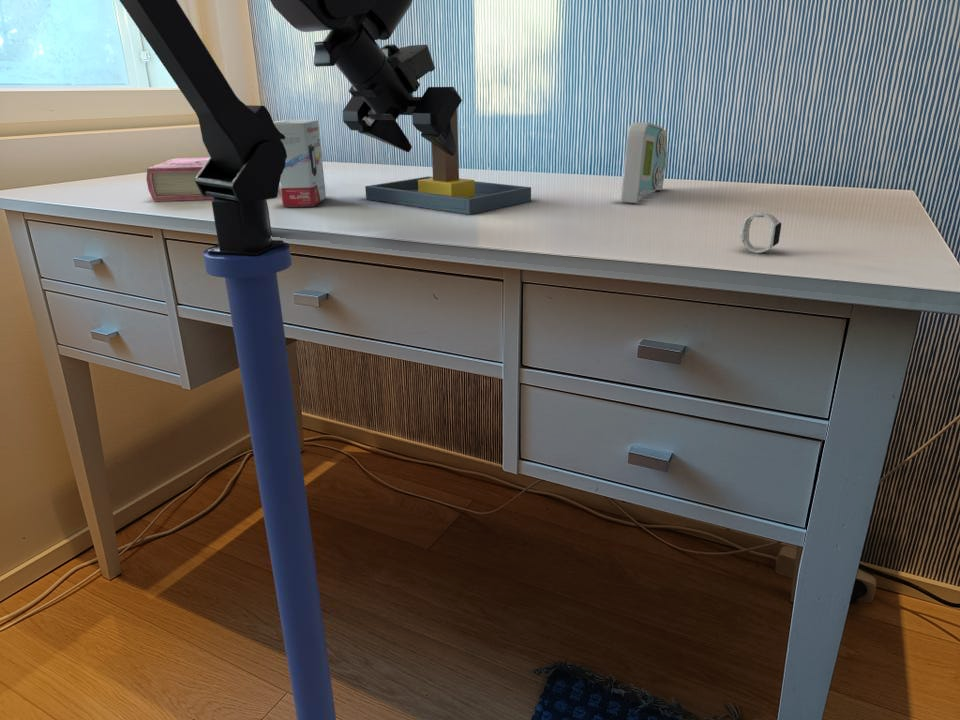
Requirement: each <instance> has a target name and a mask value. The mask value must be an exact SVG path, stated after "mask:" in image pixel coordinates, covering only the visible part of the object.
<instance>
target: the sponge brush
mask: <svg viewBox="0 0 960 720" xmlns="http://www.w3.org/2000/svg"><path fill="white" fill-rule="evenodd" d="M458 124H459V123H458V109H457V110H456V111H455V113H454V115H453V116H452V118H451V125H452V130H453V134H454V139H455V143H456V147H457V152H456V153H455V155H454V156H452V155H450V154H448V153H446V152H445V151H443V150H442V149H440V148H439V147H437V146H436V145H434V144H433V143H431V142H430V143H431V165H432V177H433V178H428V179H422V180H418V191H419V192H423V193H431V194H439V195H447V196H455V197H462V198H471V197H475V185H474V181H475V179H470V178H469V179H468V178H460V167H459V166H460V165H459V163H460V161H459V159H460V158H459V126H458Z"/></svg>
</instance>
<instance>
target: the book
mask: <svg viewBox="0 0 960 720" xmlns="http://www.w3.org/2000/svg"><path fill="white" fill-rule="evenodd" d="M209 158H210V156H209V157H208V156H207V157H176V158H175V157H174V158H172V159H169V160H163V161H164V162H161V163H158V164H155V165H154V164H153V165H151V166H149V167H147V168H146V179H145V180H146V185H147V190H148V192H149V195H150V197H151V199H152V201H153V202H171V201H199V200H213V198H215V197H210V196H202V194H201V192H200V190H199V188H198V186H197V185H196V183H195V178H196V176H197V175H198V174H199V172H200V171H201V169H202V168H203V166H204V165H205V164H206V162H207V161H208V159H209Z"/></svg>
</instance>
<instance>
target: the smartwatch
mask: <svg viewBox="0 0 960 720" xmlns="http://www.w3.org/2000/svg"><path fill="white" fill-rule="evenodd" d="M764 217H765V218H767V219H768V220H769V221H770V222H771V225H770V230H769V233H768V242H767V244H768V247H766V248H764V247H763V248H757V247H755V246H754V245H753V244H752V243H751V241H750V229H751V223H752V221H753V220H754V219H756V218H764ZM781 231H782V222H781V221H779V220H778V218H777V217H776V216H775V215H773V214H772V213H770V212H767V211H759V212H756V213H753V214H750V215H749V216H747V217H746V218H745V219H744V223H743V224H742V225H741V229H740V232H739V233H740V241H741V243H742V245H743V246H744V247H745V248H746V249H747V250H748V251H750V252H751V253H754V254H761V253H765V252H767V251H770V249H772V248H773V247H775V246H776V245H778V244H779V243H780V237H781Z"/></svg>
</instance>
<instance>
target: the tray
mask: <svg viewBox="0 0 960 720" xmlns="http://www.w3.org/2000/svg"><path fill="white" fill-rule="evenodd" d="M428 178H433V176H428V175H427V176H422V177H416V178H408V179H403V180H396V181H389V182H383V183H377V184H370V185H365V187H364V188H365V200H368V201H375V202H382V203H389V204H396V205H403V206H410V207H416V208H423V209H429V210H436V211H443V212H449V213H450V212H451V213H457V214H464V215H473V214H478V213H482V212H488V211H493V210H496V209H501V208H505V207H508V206H514V205H515V206H516V205H519V204H523V203H528V202H531V201H532V186H523V185H515V184H504V183H494V182H486V181H475V180H474V185H475V197H471V198H462V197H455V196H447V195H439V194H431V193H423V192H419V191H418V180H422V179H428Z"/></svg>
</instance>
